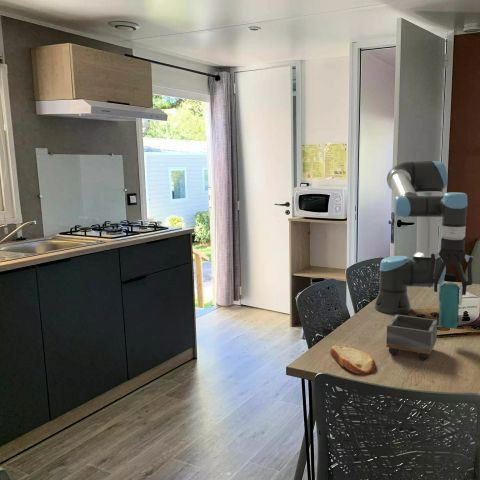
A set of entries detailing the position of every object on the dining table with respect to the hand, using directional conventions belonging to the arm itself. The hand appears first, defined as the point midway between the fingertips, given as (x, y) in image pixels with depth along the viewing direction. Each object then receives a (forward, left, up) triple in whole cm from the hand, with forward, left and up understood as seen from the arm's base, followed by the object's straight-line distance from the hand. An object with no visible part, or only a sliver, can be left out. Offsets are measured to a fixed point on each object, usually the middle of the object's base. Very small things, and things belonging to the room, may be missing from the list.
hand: (449, 302), depth 176 cm
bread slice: (+30, -26, -16) cm, 43 cm away
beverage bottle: (0, 0, -10) cm, 10 cm away
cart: (+12, -10, -16) cm, 22 cm away
